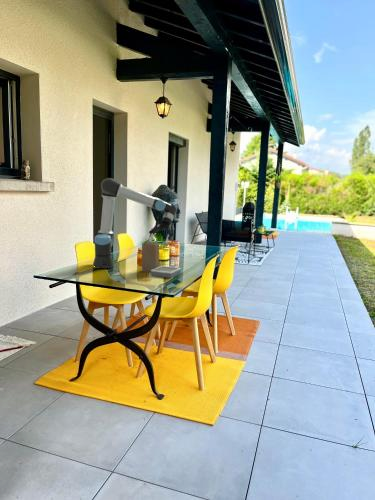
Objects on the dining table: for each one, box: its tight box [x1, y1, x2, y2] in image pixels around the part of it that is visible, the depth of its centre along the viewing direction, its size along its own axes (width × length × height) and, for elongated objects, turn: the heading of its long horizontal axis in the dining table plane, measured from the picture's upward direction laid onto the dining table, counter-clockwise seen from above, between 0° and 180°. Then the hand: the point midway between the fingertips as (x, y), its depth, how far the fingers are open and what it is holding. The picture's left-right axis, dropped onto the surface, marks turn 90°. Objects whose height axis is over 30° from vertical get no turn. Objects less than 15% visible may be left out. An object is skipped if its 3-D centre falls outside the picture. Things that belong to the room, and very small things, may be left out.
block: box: [141, 241, 160, 273], centre depth 266 cm, size 10×10×20 cm
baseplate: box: [150, 265, 182, 279], centre depth 257 cm, size 15×15×4 cm
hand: (157, 242), depth 273 cm, fingers open, 13 cm apart
